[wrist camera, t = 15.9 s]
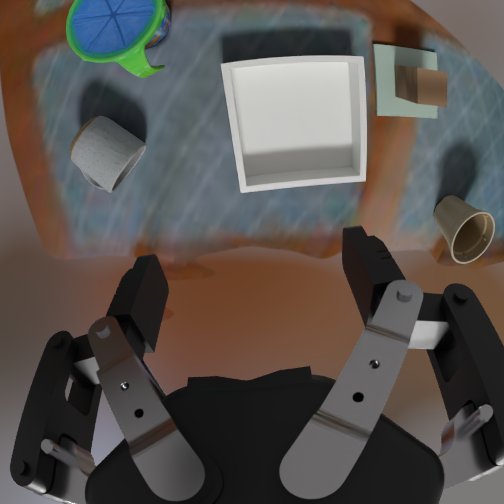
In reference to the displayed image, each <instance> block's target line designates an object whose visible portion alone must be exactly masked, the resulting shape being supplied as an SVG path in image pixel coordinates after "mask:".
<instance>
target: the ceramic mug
mask: <svg viewBox="0 0 504 504" xmlns="http://www.w3.org/2000/svg"><path fill="white" fill-rule="evenodd" d="M145 149H146V144H145V143H144V142H143V141H141V140H140V139H138V138H137V137H135V136H134V135H133V134H131V133H130V132H128V131H127V130H125V129H124V128H122V127H121V126H119V125H118V124H117V123H115V122H114V121H112V120H111V119H109V118H107V117H105V116H102V115H99V116H95V117H93V118H91V119H90V120H89V121H88V122H86V123H85V124H84V125H83V127H82V128H81V129H80V130H79V132H78V133H77V135H76V136H75V138H74V140H73V142H72V144H71V147H70V152H69V154H70V158H71V159H72V161H73V162H74V163H75V164H76V165H77V166H78V167H79V168H80V169H81V171H82V173H83V175H84V176H85V178H86V179H87V180H88V181H89V182H90V183H91V184H92V185H93V186H95V187H97V188H99V189H105V190H107V191H108V192H110V193H112V192H114V191H115V190H116V189H117V188H118V187H119V185H120V184H121V183H122V182H123V181H124V179H125V178H126V177H127V175H128V174H129V173H130V172H131V170H132V169H133V167H134V166H135V165H136V163H137V162H138V160H139V159H140V157H141V156H142V154H143V153H144V151H145Z"/></svg>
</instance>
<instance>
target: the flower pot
mask: <svg viewBox="0 0 504 504" xmlns="http://www.w3.org/2000/svg"><path fill="white" fill-rule="evenodd" d="M434 220H435V222H436V224H437V226H438V227H439V229H440V230H441V232H442V234H443V235H444V237H445V239H446V240H447V242H448V244H449V247H450V250H451V255H452V257H453V259H454V260H455V261H456V262H458V263H461V264H465V263H469V262H471V261H473V260H475V259H477V258H478V257H479V256H481V254H483V252H484V251H485V250H486V249H487V247H488V246H489V244H490V243H491V240H492V238H493V235H494V230H495V223H494V219H493V217H492V215H491V214H489V213H488V212H486V211H481V210H478V209H476V208H474V207H472V206H471V205H469V204H468V203H466V202H464V201H463V200H461V199H460V198H458V197H456V196H454V195H449V196H446V197H444V198H443V199H442V201H441V202H440V203H439V204H437V206H436V208H435V212H434Z"/></svg>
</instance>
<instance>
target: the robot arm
mask: <svg viewBox="0 0 504 504" xmlns="http://www.w3.org/2000/svg"><path fill="white" fill-rule="evenodd" d="M342 264H343V269H344V272H345V275H346V277H347V280H348V283H349V285H350V288H351V290H352V293H353V295H354V298H355V301H356V303H357V306H358V309H359V312H360V314H361V317H362V320H363V322H364V325H365V329H364V331H363V333H362V335H361V337H360V339H359V341H358V343H357V344H356V347H355V348H354V350H353V352H352V354H351V356H350V358H349V360H348V361H347V363H346V365H345V367H344V368H343V370H342V372H341V374H340V376H339V377H338V379H337V381H336V380H334V379H332V378H328V377H325V376H320V375H311V369H310V366H308V367H301V368H294V369H286V370H279V371H276V372H273V373H270V374H267V375H264V376H261V377H259V378H255V379H253V380H247V381H245V380H238V379H231V378H225V377H219V376H210V377H188V384H187V386H186V387H183V388H180V389H178V390H176V391H174V392H172V393H170V394H169V395H166V394H165V393H164V391H163V390H162V388H161V387H160V385H159V383H158V382H157V380H156V379H155V377H154V376H153V374H152V372H151V371H150V369H149V368H148V366H147V364H146V362H145V361H144V360H143V356H144V353H154V352H155V347H156V342H157V338H158V334H159V330H160V326H161V322H162V317H163V313H164V309H165V305H166V301H167V297H168V293H169V288H168V283H167V280H166V277H165V275H164V272H163V270H162V268H161V265H160V263H159V260H158V258H157V256H156V255H155V254H152V255H145V256H139V257H138V258H137V260H136V262H135V264H134V267H133V269H129V270H128V271H127V273H126V274H125V275H124V276H123V277H122V279H121V281H120V283H119V287H118V288H117V290H116V294H115V295H114V297H113V300H112V302H111V304H110V307H109V309H108V312H107V314H106V316H105V317H102V318H100V319H98V320H96V321H95V322H94V323H93V324H92V325H91V326H90V328H89V330H88V334H86V335H83V336H80V337H77V338H73V337H72V336H71V334H70V333H69V332H67V331H60V332H58V333H56V334H54V335H53V336H52V337H51V338H50V339H49V341H48V342H47V345H46V347H45V350H44V352H43V355H42V357H41V360H40V362H39V365H38V368H37V371H36V373H35V376H34V379H33V382H32V385H31V388H30V391H29V394H28V397H27V400H26V404H25V407H24V410H23V413H22V417H21V421H20V424H19V428H18V432H17V436H16V441H15V445H14V449H13V454H12V458H11V464H10V472H11V476H12V478H13V480H14V481H15V482H16V483H17V484H18V485H20V486H22V487H24V488H26V489H29V490H31V491H33V492H35V493H36V494H38V495H41V496H43V497H46V498H48V499H51V500H53V501H56V502H61V503H64V504H439V501H440V497H441V495H442V491H443V490H445V489H448V488H450V487H453V486H455V485H457V484H460V483H462V482H464V481H467V480H470V481H476V480H479V479H481V478H483V477H485V476H487V475H489V474H491V473H493V472H495V471H497V470H499V469H501V468H503V467H504V346H503V344H502V342H501V340H500V338H499V336H498V334H497V332H496V331H495V328H494V326H493V325H492V323H491V321H490V319H489V317H488V316H487V314H486V312H485V310H484V308H483V307H482V305H481V303H480V302H479V300H478V298H477V297H476V295H475V293H474V292H473V291H472V290H471V289H470V288H469V287H467V286H465V285H463V284H450V285H448V286H447V287H446V288H445V290H444V293H443V294H431V293H424V292H422V290H421V288H420V287H419V286H418V285H417V284H415V283H413V282H411V281H408V280H406V279H405V277H404V275H403V274H402V272H401V270H400V269H399V267H398V266H397V264H396V262H395V260H394V259H393V258H392V256H391V254H390V252H389V251H388V249H387V247H386V246H385V244H384V243H383V242H382V241H381V240H380V239H378V238H377V237H375V236H367V234H366V232H365V231H364V229H363V227H362V226H353V227H345V228H343V242H342ZM408 348H415V349H426V350H427V353H428V356H429V358H430V361H431V364H432V367H433V370H434V372H435V375H436V379H437V382H438V385H439V388H440V391H441V394H442V397H443V401H444V404H445V408H446V411H447V415H448V418H449V422H448V423H447V424H446V425H445V427H444V428H443V431H442V434H441V443H442V446H441V451H440V454H439V455H438V456H437V454H436V453H435V452H434V451H433V450H432V449H431V448H429V447H428V446H426V445H425V444H423V443H422V442H420V441H419V440H418V439H416V438H415V437H413V436H412V435H411V434H409V433H408V432H406V431H405V430H404V429H403V428H401V427H400V426H398V425H397V424H396V423H394V422H393V421H392V420H390V419H389V418H387V417H386V416H385V415H383V414H382V413H381V412H382V410H383V408H384V406H385V403H386V401H387V399H388V397H389V395H390V392H391V390H392V388H393V385H394V383H395V381H396V378H397V375H398V373H399V370H400V368H401V365H402V363H403V360H404V357H405V355H406V352H407V349H408ZM69 377H70V378H71V379H72V380H73V383H72V387H71V390H70V394H69V397H68V401H67V400H66V397H65V389H66V385H67V382H68V379H69ZM102 389H103V392H104V394H105V396H106V398H107V401H108V403H109V405H110V407H111V410H112V412H113V414H114V416H115V418H116V421H117V423H118V425H119V427H120V429H121V431H122V433H123V435H124V437H125V438H124V440H122V442H120V444H119V445H118V446H117V447H116V448H115V449H114V450H113V451H112V452H111V453H110V454H109V455H108V456H107V457H106V458H105V459H104V460H103V461H102V462H101V463H100V464H99V465H98V466H97V467H96V466H95V463H94V459H93V457H92V455H91V447H92V440H93V434H94V429H95V423H96V417H97V412H98V407H99V401H100V397H101V393H102Z"/></svg>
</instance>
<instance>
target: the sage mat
mask: <svg viewBox="0 0 504 504" xmlns="http://www.w3.org/2000/svg"><path fill="white" fill-rule="evenodd" d="M372 46H373V58H374V73H375V95H376V115H377V116H407V117H423V118H436V119H437V106H433V105H423V104H416V103H413V102H410V101H407V100H404V99H401V98H398V97H395V72H394V65H398V66H408V67H417V68H423V69H430V70H436V71H437V53H434V52H429V51H423V50H418V49H411V48H405V47H398V46H390V45H380V44H372Z"/></svg>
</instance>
